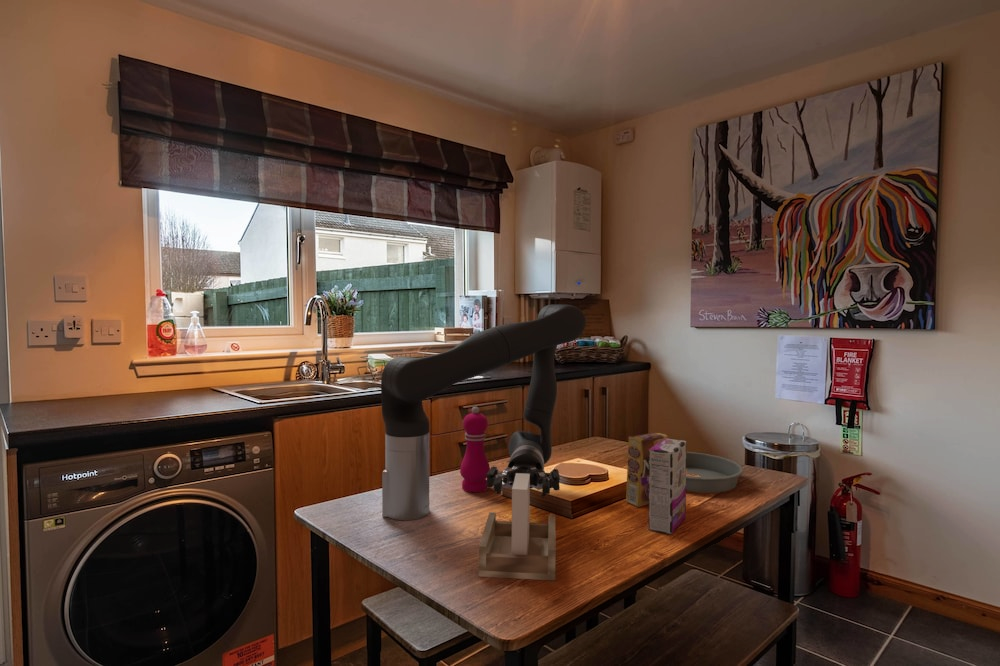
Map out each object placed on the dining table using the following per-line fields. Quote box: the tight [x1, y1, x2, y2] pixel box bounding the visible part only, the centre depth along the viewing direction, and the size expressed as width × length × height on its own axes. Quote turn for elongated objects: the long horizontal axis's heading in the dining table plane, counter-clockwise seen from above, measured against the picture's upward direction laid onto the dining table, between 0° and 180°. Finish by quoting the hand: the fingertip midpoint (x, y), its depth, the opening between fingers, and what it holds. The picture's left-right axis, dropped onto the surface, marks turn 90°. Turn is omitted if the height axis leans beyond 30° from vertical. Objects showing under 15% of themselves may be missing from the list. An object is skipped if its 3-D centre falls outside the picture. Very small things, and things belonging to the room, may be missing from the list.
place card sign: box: [499, 473, 542, 556], centre depth 97 cm, size 7×10×13 cm
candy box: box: [625, 432, 669, 508], centre depth 127 cm, size 9×4×15 cm, turn 123°
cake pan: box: [686, 451, 745, 494], centre depth 145 cm, size 25×25×4 cm
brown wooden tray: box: [478, 511, 557, 581], centre depth 98 cm, size 12×15×5 cm
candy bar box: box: [648, 438, 687, 535], centre depth 114 cm, size 11×5×16 cm, turn 148°
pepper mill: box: [459, 406, 491, 493], centre depth 136 cm, size 7×7×20 cm
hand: (521, 489), depth 104 cm, fingers open, 8 cm apart
